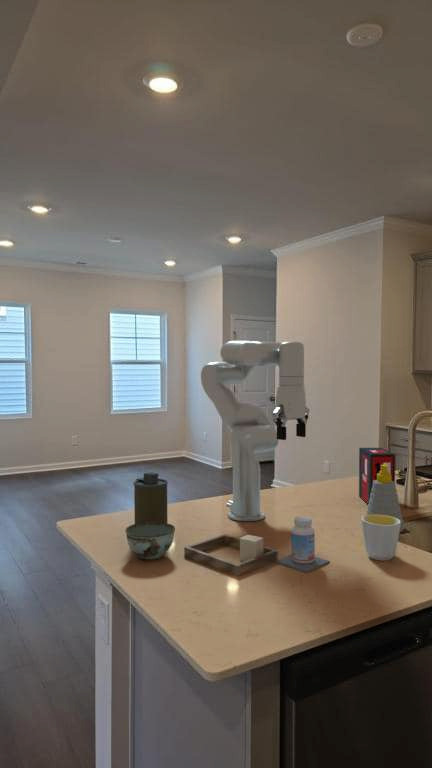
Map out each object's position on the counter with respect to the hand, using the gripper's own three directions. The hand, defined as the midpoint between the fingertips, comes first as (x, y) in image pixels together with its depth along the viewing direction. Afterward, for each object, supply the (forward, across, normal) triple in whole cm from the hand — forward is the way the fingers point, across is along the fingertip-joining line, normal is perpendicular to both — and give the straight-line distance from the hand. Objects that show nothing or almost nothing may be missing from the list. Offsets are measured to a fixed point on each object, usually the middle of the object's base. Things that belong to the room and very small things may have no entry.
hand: (291, 438), depth 163 cm
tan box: (+30, +24, +5) cm, 39 cm away
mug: (+31, -4, +28) cm, 42 cm away
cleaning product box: (+31, -56, -2) cm, 64 cm away
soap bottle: (+31, -28, +16) cm, 44 cm away
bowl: (+31, +42, -16) cm, 54 cm away
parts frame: (+30, +27, 0) cm, 41 cm away
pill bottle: (+30, +16, +16) cm, 37 cm away
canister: (+31, +32, -29) cm, 53 cm away
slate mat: (+30, +16, +16) cm, 38 cm away
